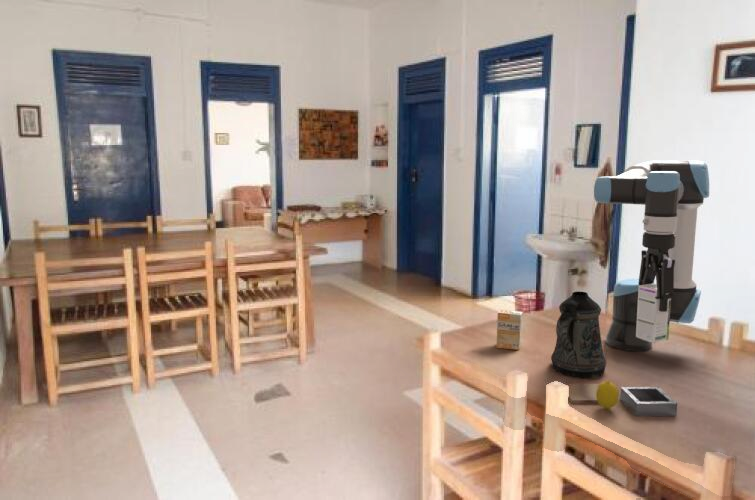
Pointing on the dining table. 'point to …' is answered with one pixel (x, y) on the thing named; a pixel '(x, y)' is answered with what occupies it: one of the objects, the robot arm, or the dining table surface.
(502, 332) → the supplement box
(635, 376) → the dining table surface
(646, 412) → the metal collar
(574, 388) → the walnut board
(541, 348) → the dining table surface
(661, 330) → the syrup box
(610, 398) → the lemon
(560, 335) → the beer stein
